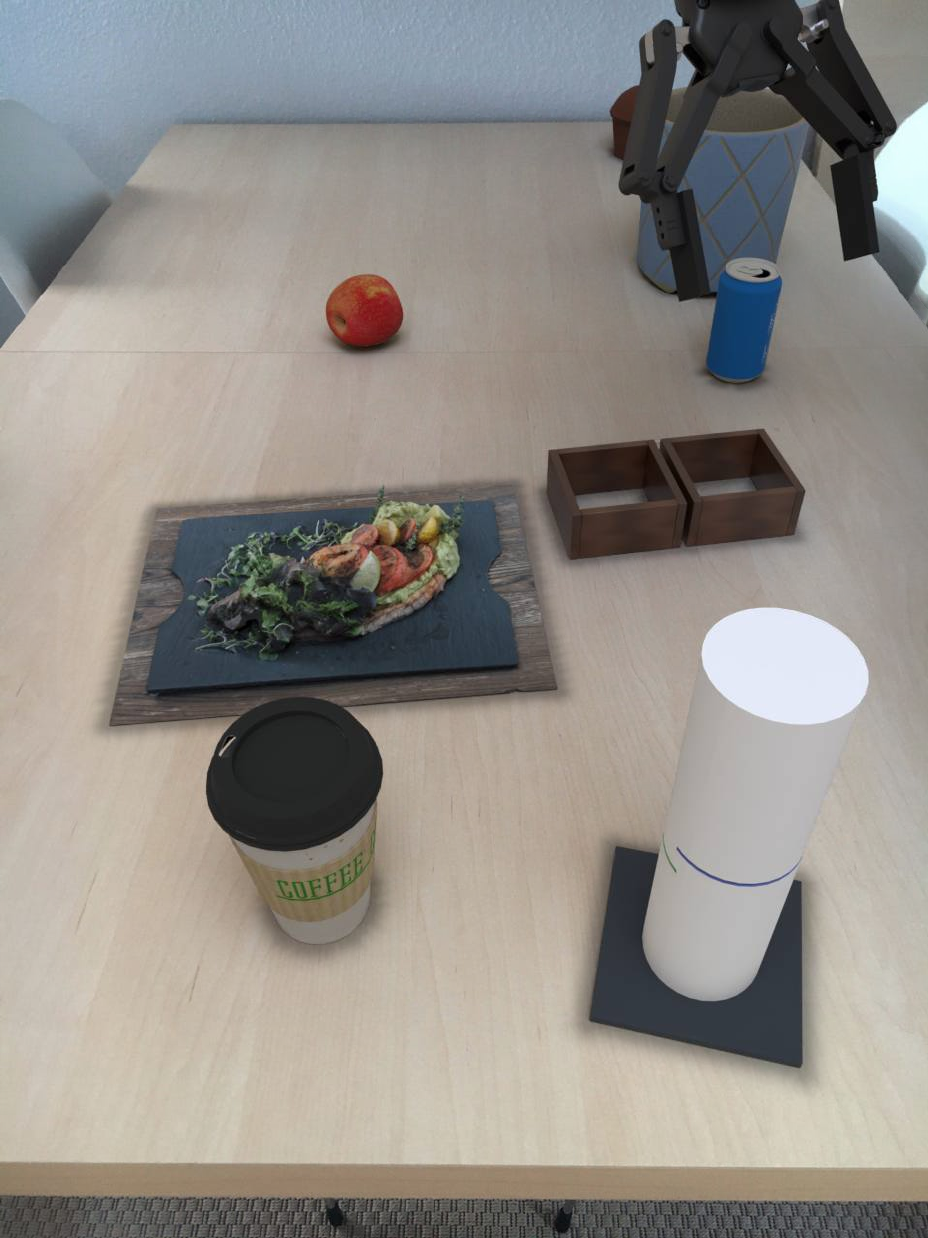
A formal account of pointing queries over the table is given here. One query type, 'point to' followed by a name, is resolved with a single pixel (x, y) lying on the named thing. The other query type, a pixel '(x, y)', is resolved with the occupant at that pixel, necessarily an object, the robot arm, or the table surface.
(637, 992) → the mat
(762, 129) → the planter
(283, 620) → the plated dish
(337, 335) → the apple
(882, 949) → the table surface
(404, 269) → the table surface
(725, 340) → the beverage can
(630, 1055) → the table surface
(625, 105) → the muffin
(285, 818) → the coffee cup
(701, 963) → the cylindrical container
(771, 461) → the stand
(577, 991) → the table surface
